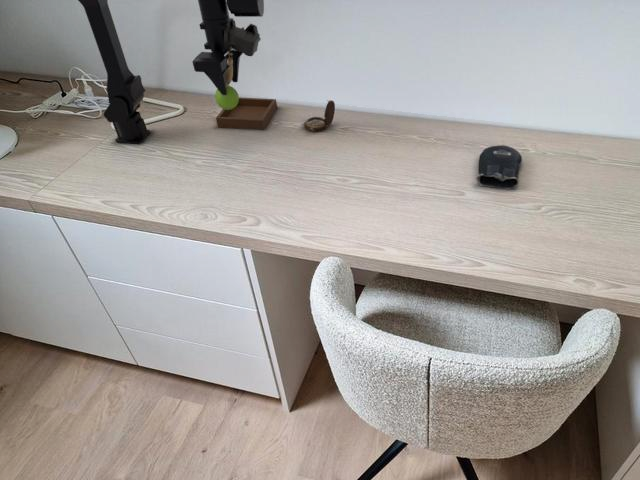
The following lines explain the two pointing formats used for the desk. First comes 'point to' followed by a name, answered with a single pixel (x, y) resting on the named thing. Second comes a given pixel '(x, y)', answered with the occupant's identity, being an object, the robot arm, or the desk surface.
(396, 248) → the desk surface
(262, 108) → the tray
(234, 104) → the green and brown figure
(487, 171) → the black beanie hat
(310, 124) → the compass
